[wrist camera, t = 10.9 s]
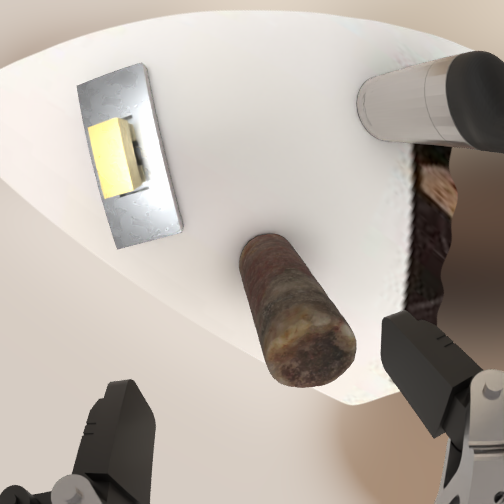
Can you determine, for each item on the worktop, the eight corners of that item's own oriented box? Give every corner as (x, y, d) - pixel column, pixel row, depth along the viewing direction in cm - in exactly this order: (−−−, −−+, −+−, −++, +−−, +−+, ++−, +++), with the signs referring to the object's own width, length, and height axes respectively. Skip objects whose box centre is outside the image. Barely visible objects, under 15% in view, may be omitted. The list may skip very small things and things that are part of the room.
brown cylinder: (282, 292, 42) (334, 395, 24) (230, 281, 41) (252, 389, 22) (301, 240, 40) (375, 320, 22) (247, 225, 39) (286, 304, 20)
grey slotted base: (146, 68, 30) (142, 62, 28) (183, 225, 38) (181, 232, 35) (85, 89, 30) (76, 86, 27) (123, 241, 37) (117, 249, 34)
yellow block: (136, 123, 32) (116, 117, 24) (149, 179, 35) (133, 190, 27) (113, 130, 32) (87, 127, 24) (126, 186, 34) (104, 198, 26)
